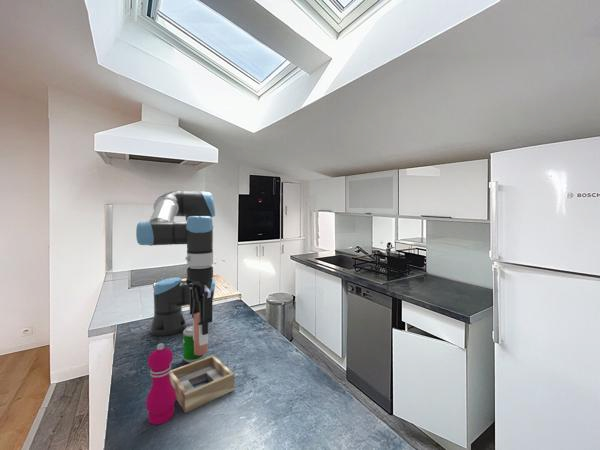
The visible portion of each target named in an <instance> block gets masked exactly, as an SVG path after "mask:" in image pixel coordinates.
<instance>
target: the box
mask: <svg viewBox="0 0 600 450" xmlns="http://www.w3.org/2000/svg"><path fill="white" fill-rule="evenodd" d="M169 379H170V382H171V384H172V386H173V388H174V390H175V393H176V400H175V401H176V402H177V403H178V404H179V406H180V407H181V408H182V410H183V412H184V413H188V412H191V411H192V410H195V409H197V408H200V407H201V406H203V405H205V404H207V403H209V402H212V401H214V400H216V399H218V398H219V397H222V396H224V395H226V394H228V393H230V392H233V391H234V390H235V373H234V372H233V371H232V370H230V368H228V366H226V365H225V364H224V363H223V361H220V360H219V359H218V358H217V357H216V356H215V355H213V354H212V355H210V356H207V357H203V358H202V359H201V360H198V361H196V362H193V363H188V364H185V365H183V366H182V365H181V366H180V367H179V366H178V367H176V368H173V369H171V371H170V373H169ZM204 381H207V383H205V384H202V385H200V386H198V387H196V388H195V387H194V386H195V385H198V384H200V383H202V382H204Z"/></svg>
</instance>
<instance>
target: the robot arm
mask: <svg viewBox="0 0 600 450" xmlns="http://www.w3.org/2000/svg"><path fill="white" fill-rule="evenodd" d="M215 216H216V209H215V202H214V197H213V194H212V193H211V192H209V191H202V190H201V191H197V190H196V191H193V190H192V191H190V190H188V191H187V190H174V191H169V192H165V193H164V194H162V195H161V196H159V197H157V199H156V200H155V201H154V203H153V212H152V214H151V216H150V219H149V220H146V221H140V222H138V223H137V225H136V228H135V229H136V230H135V231H136V232H135V233H136V235H135V236H136V242H137V244H138V245H140V246H149V247H150V246H171V245H186V256H185V260H186V265H187V268H186V276H185V277H186V279H185V280H183V279H182V278H181V277H170V278H164V279H162V280H159V281H157V282H156V283H155V284H154V287H153V310H154V311H153V312H154V313H153V318H152V321H151V324H150V328H149V332H150V334H151V335H153V336H158V337H164V336H170V335H175V334H178V333H180V332H183V331H184V330H185V329H186V327H187V322H186V319H185V316H184V312H183V311H182V310H183V307H184V306H189V314H190V315H191V318H192V325H193V340H194V314H195V313H197V312H199V313H200V323H198V325H199V345H200V346H201V345H204V344H207V343H208V344H209V343H210V340H209V339H210V338H209V337H210V335H209V323H210V324H211V323H212V322H213V304H214V303H213V300H214V296H215V291H216V290H215V289H216V279H215V278H214V267H213V265H214V249H213V248H214V247H213V245H214V244H213V242H214V241H213V240H214V236H213V235H214V225H213V223H214V222H213V218H214V217H215ZM175 217H185V221H174V220H175ZM190 315H189V316H190Z"/></svg>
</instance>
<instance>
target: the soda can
mask: <svg viewBox="0 0 600 450" xmlns="http://www.w3.org/2000/svg"><path fill="white" fill-rule="evenodd" d="M182 341H183V343H182V344H183V350H182V352H183V353H182V354H183V357H182V358H183V360H184V361H185V362H186V363H188V364H190V363H193V362H196V361H198V360H201V359H204V358H205V356H206V354H204V355H195V354H194V340H193V324H191V325H188V326H186V327H185V329H184V330H182Z"/></svg>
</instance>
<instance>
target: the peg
mask: <svg viewBox="0 0 600 450" xmlns="http://www.w3.org/2000/svg"><path fill="white" fill-rule="evenodd" d="M193 319H194V354H195V355H204V354H205V355H206V354H207V353H209V349H208V347H209V346H208V344H209V343H207V344H204V345H201V346H200V345H199V325H198V323H200V313H199V312H197V313H195V314H194V318H193Z"/></svg>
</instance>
